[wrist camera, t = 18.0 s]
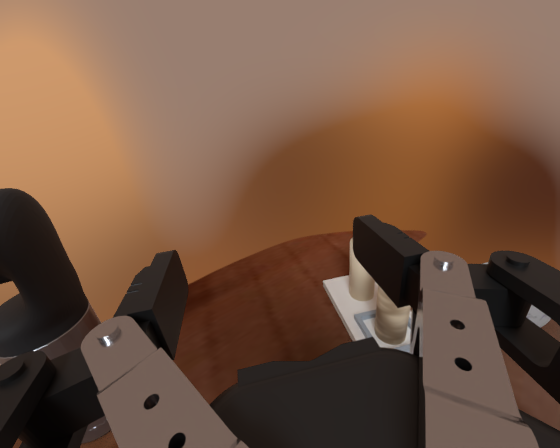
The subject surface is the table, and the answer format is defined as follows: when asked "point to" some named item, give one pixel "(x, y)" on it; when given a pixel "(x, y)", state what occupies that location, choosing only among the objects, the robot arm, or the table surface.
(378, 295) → the maple post
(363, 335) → the board
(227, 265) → the table surface
